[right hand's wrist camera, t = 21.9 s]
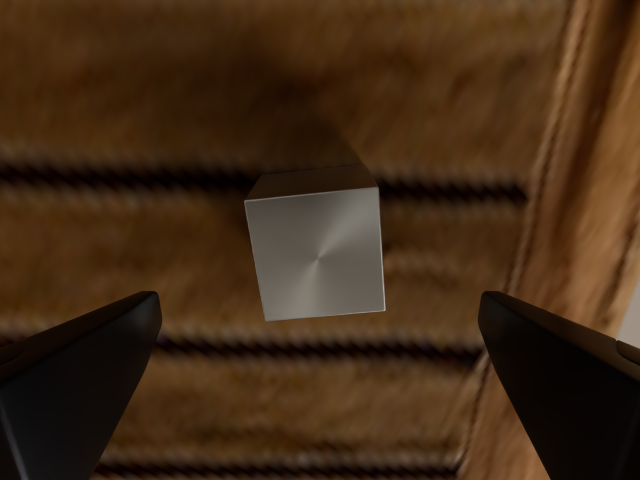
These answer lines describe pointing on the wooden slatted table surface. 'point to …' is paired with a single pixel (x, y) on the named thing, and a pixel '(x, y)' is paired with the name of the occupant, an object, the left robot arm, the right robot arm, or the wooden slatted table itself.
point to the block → (317, 242)
